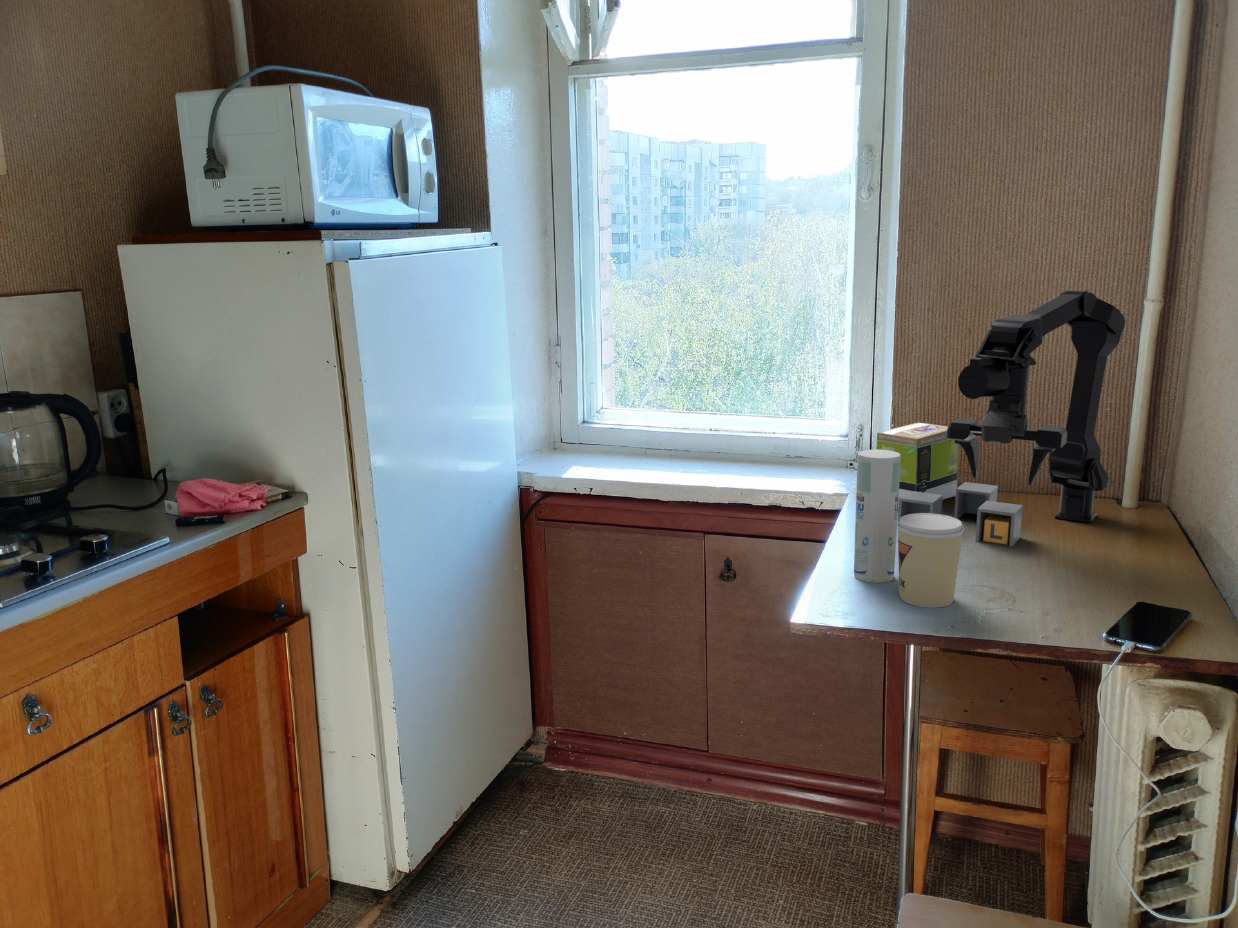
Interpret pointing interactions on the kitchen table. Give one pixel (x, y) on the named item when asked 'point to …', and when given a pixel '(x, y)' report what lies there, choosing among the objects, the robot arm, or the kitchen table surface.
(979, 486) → the open box
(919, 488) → the tea box
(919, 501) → the grey u-shaped block
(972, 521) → the kitchen table surface
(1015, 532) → the grey bracket
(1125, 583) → the kitchen table surface
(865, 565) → the spray can
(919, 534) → the coffee cup
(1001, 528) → the orange cube
